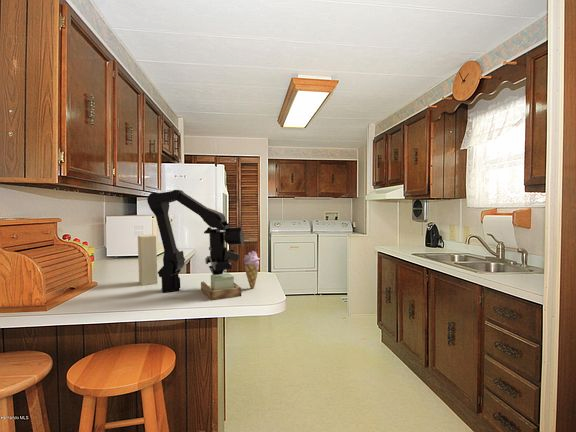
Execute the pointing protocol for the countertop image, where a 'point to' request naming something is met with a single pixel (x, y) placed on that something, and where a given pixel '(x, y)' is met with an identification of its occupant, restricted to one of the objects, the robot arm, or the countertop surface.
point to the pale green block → (222, 281)
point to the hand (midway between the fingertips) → (218, 284)
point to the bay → (220, 292)
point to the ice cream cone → (251, 267)
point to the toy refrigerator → (147, 259)
